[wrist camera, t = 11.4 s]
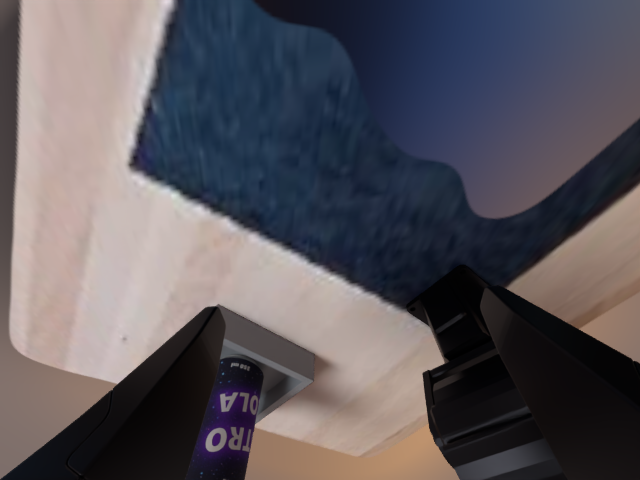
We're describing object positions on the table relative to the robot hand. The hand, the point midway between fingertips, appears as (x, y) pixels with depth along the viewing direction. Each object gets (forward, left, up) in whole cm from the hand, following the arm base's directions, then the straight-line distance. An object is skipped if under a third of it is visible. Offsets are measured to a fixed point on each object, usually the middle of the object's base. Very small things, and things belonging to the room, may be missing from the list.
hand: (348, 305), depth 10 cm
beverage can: (-5, +22, -11) cm, 25 cm away
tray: (-5, +22, -12) cm, 26 cm away
